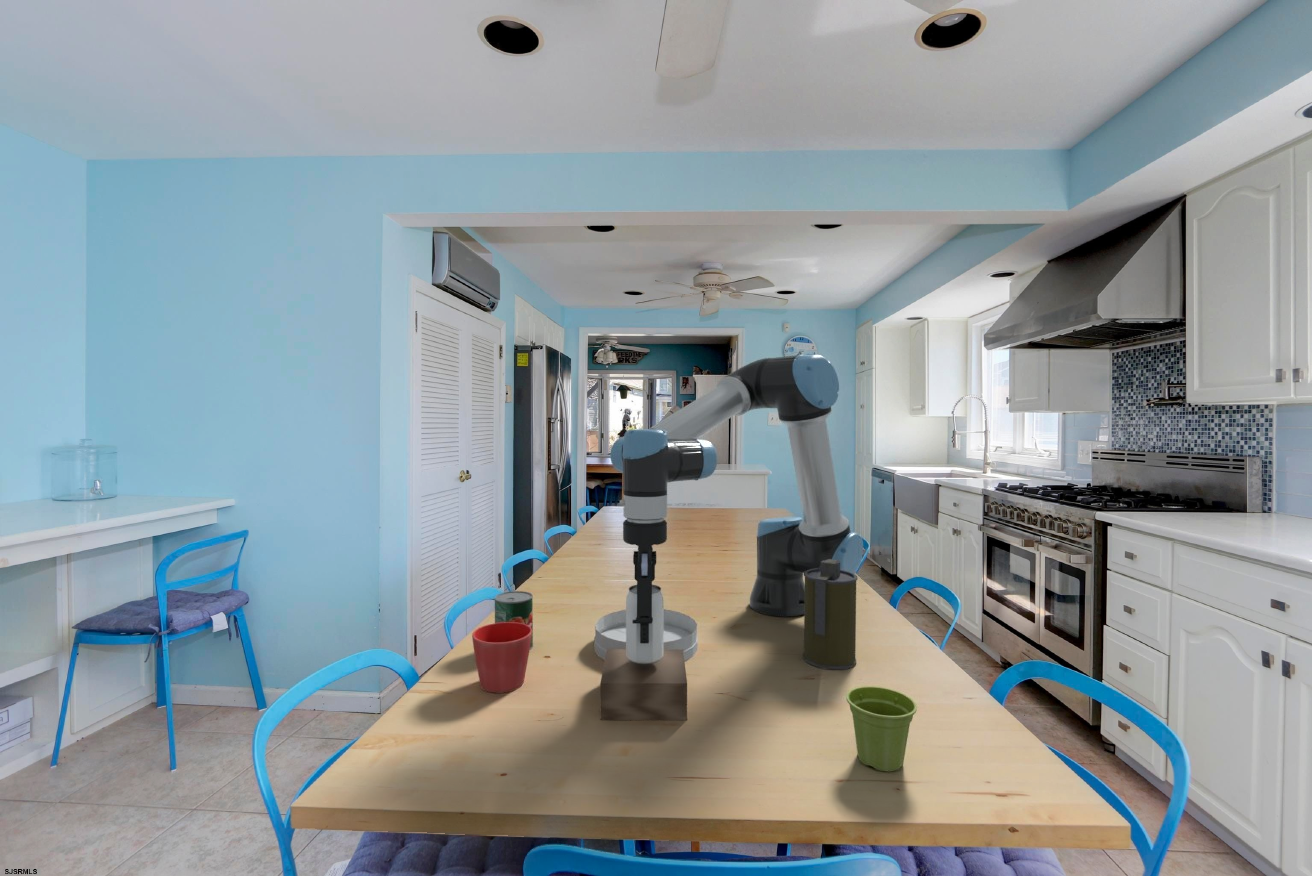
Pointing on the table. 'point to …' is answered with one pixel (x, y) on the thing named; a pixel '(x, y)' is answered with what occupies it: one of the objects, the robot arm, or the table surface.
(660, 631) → the can
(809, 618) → the canister
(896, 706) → the plant pot
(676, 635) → the dish
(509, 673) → the flower pot
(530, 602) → the canned tomato
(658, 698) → the walnut base
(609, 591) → the table surface
